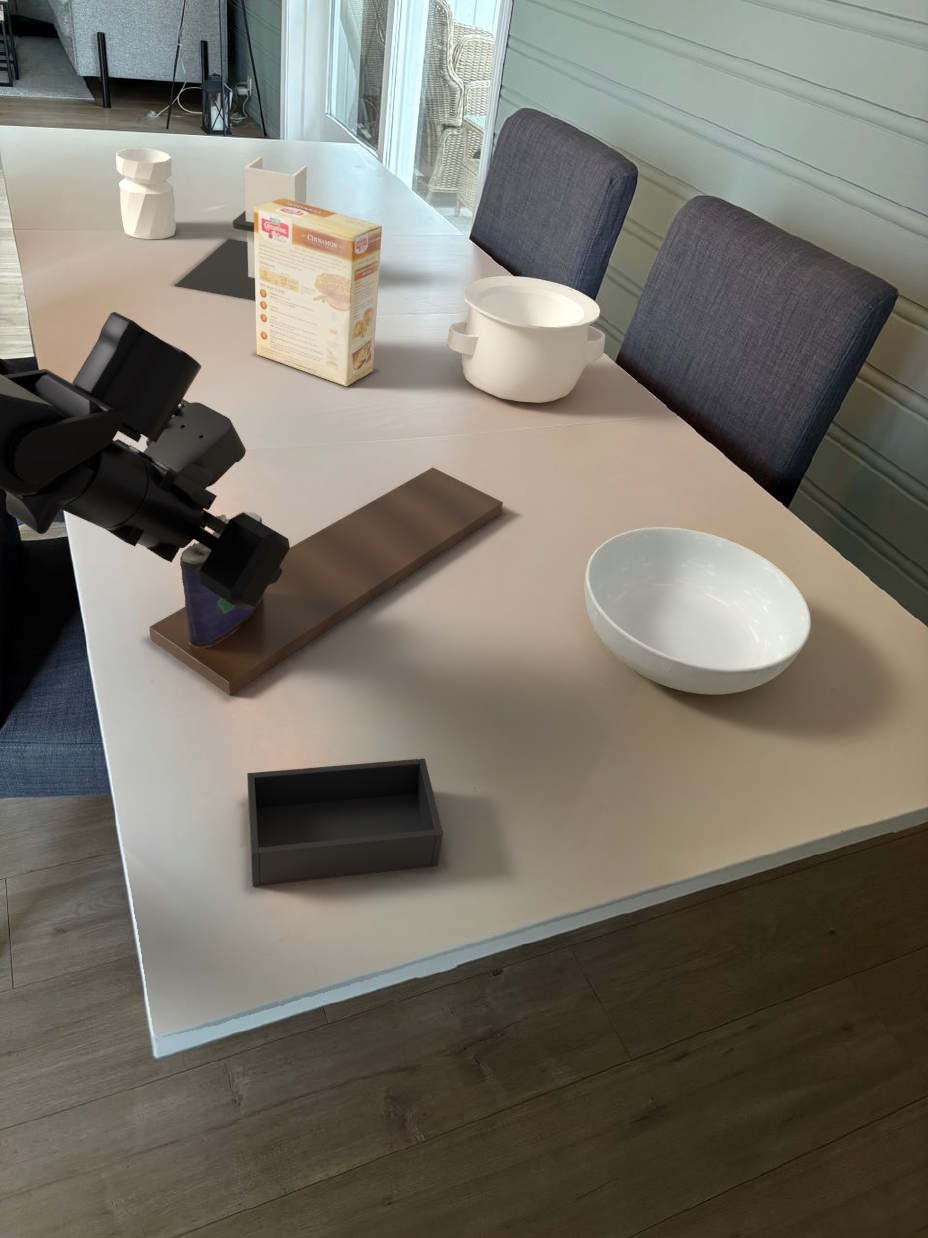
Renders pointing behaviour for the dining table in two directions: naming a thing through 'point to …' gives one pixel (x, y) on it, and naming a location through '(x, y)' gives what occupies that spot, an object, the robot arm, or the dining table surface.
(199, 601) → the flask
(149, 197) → the vase
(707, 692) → the serving bowl
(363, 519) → the board
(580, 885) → the dining table surface
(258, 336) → the coffeecake box
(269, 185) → the black and white stand
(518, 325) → the pot
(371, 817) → the open box
